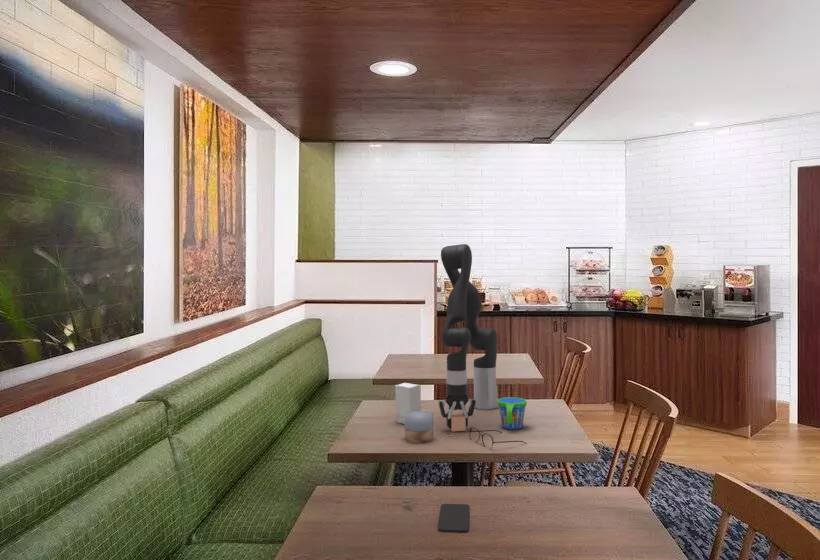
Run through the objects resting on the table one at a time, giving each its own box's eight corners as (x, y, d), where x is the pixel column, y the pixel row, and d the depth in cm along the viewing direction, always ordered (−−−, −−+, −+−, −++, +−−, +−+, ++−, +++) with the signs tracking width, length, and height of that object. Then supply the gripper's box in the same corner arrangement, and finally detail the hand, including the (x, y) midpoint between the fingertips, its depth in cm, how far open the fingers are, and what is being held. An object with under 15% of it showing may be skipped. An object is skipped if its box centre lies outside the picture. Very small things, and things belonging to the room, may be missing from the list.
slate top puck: (430, 422, 216) (430, 410, 216) (435, 430, 207) (435, 417, 206) (402, 424, 215) (402, 411, 215) (407, 432, 205) (406, 419, 205)
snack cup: (503, 420, 233) (503, 394, 232) (530, 423, 229) (530, 396, 228) (492, 431, 218) (492, 403, 218) (521, 434, 214) (521, 406, 214)
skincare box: (421, 423, 230) (421, 384, 229) (410, 426, 226) (409, 387, 225) (406, 419, 236) (406, 381, 235) (395, 422, 232) (394, 384, 231)
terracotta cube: (462, 426, 223) (462, 413, 223) (465, 430, 218) (465, 417, 218) (449, 427, 223) (449, 414, 222) (452, 431, 218) (451, 417, 217)
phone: (469, 504, 155) (469, 530, 140) (469, 507, 155) (469, 534, 140) (441, 503, 156) (437, 529, 141) (441, 506, 156) (437, 532, 141)
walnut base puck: (430, 434, 217) (430, 422, 216) (436, 443, 207) (435, 430, 207) (402, 436, 215) (402, 424, 215) (407, 445, 205) (407, 432, 205)
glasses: (468, 440, 210) (469, 426, 210) (502, 438, 217) (504, 425, 217) (491, 452, 197) (493, 436, 197) (527, 450, 204) (529, 435, 204)
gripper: (473, 378, 224) (473, 423, 225) (435, 380, 222) (436, 426, 223) (478, 383, 217) (478, 429, 218) (439, 385, 215) (440, 432, 216)
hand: (457, 427), depth 220 cm, fingers closed on terracotta cube, 5 cm apart
